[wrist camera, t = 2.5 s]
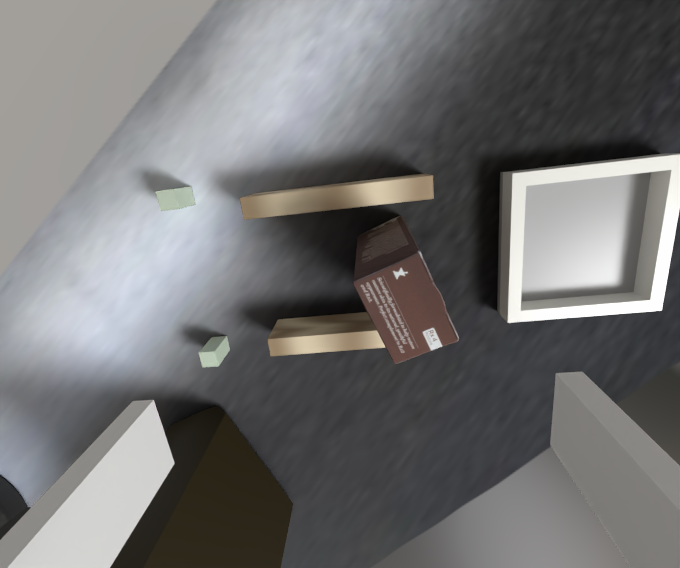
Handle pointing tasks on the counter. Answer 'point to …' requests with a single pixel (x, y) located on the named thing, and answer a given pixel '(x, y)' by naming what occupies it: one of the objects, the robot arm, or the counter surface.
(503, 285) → the tray
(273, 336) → the channel
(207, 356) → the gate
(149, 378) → the counter surface
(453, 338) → the box
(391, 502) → the counter surface
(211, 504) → the bottle
